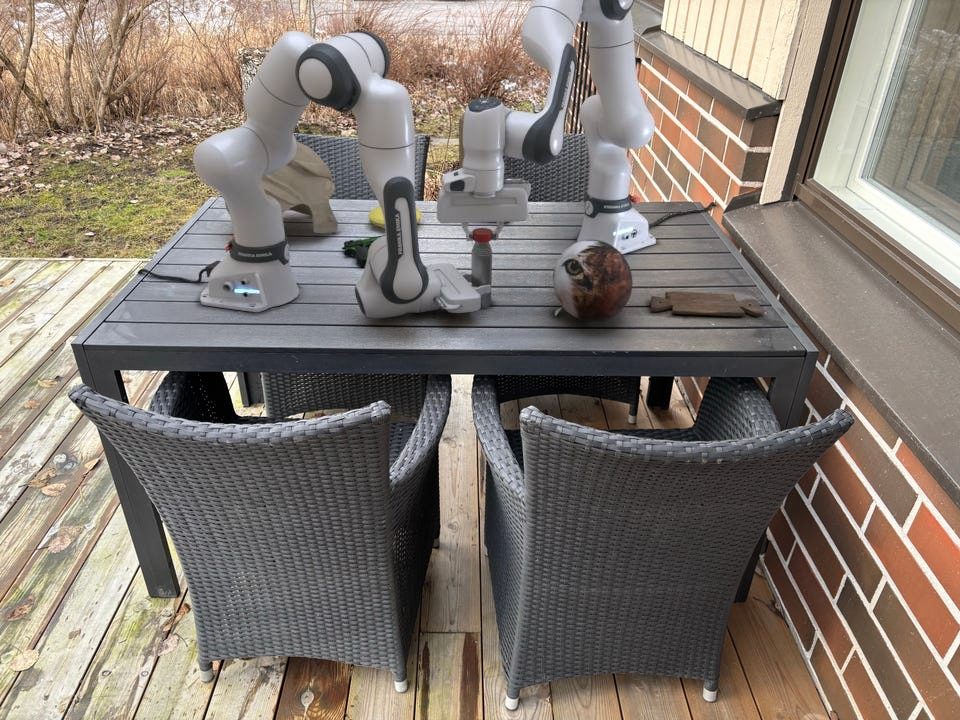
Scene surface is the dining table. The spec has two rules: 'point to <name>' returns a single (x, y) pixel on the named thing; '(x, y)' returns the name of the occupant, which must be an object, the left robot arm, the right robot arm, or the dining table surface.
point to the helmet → (304, 188)
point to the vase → (378, 218)
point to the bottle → (482, 269)
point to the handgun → (358, 249)
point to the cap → (482, 235)
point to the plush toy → (592, 281)
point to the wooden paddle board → (705, 304)
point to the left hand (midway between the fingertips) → (484, 282)
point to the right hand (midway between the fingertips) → (482, 240)
